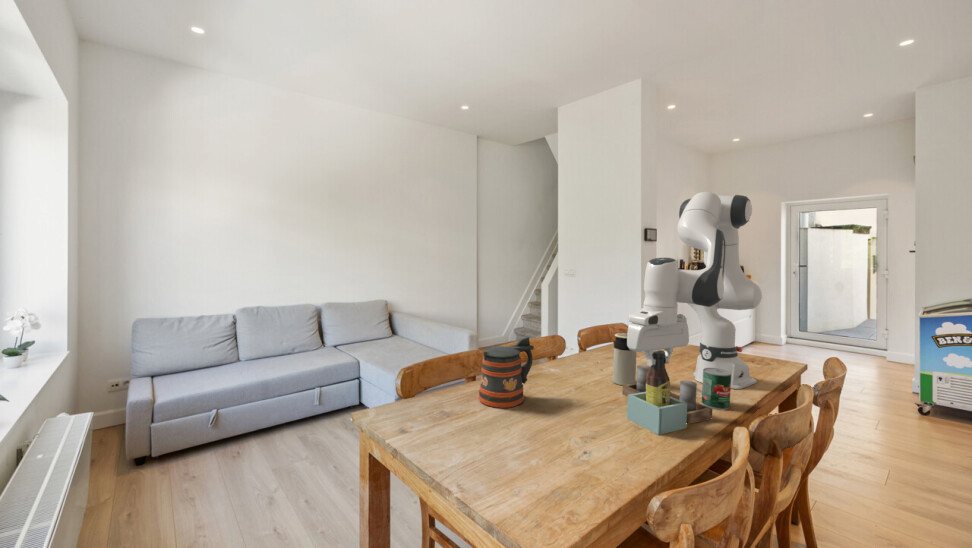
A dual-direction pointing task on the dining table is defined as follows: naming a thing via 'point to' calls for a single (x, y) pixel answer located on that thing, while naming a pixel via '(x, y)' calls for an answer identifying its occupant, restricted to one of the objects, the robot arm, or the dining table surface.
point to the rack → (674, 395)
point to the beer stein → (504, 375)
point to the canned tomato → (716, 388)
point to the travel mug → (623, 361)
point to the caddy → (657, 414)
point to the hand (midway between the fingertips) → (658, 364)
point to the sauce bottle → (658, 381)
